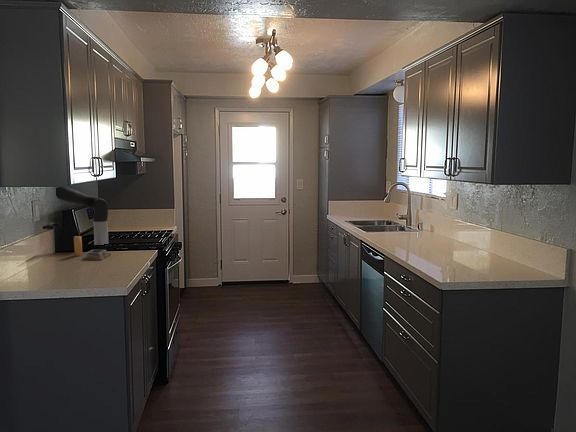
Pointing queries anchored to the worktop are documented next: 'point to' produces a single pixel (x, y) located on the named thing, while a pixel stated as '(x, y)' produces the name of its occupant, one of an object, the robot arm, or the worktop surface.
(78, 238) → the connector
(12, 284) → the worktop surface
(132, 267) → the worktop surface
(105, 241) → the robot arm
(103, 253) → the junction block
